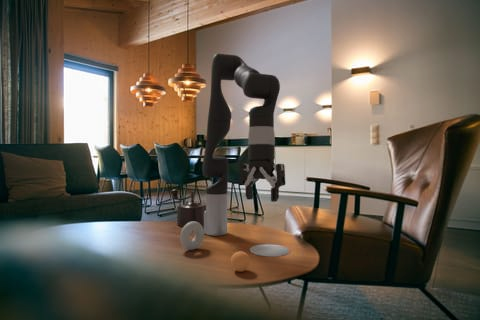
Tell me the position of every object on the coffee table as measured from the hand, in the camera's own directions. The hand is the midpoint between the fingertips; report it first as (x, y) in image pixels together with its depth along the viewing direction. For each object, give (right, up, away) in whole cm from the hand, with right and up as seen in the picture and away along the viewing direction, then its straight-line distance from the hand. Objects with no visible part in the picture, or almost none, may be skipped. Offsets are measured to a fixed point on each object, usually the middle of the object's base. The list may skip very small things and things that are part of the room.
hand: (261, 200), depth 88 cm
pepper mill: (-31, -21, +61) cm, 71 cm away
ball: (-6, -17, 0) cm, 18 cm away
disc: (+4, -20, +20) cm, 29 cm away
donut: (-23, -20, +21) cm, 37 cm away
